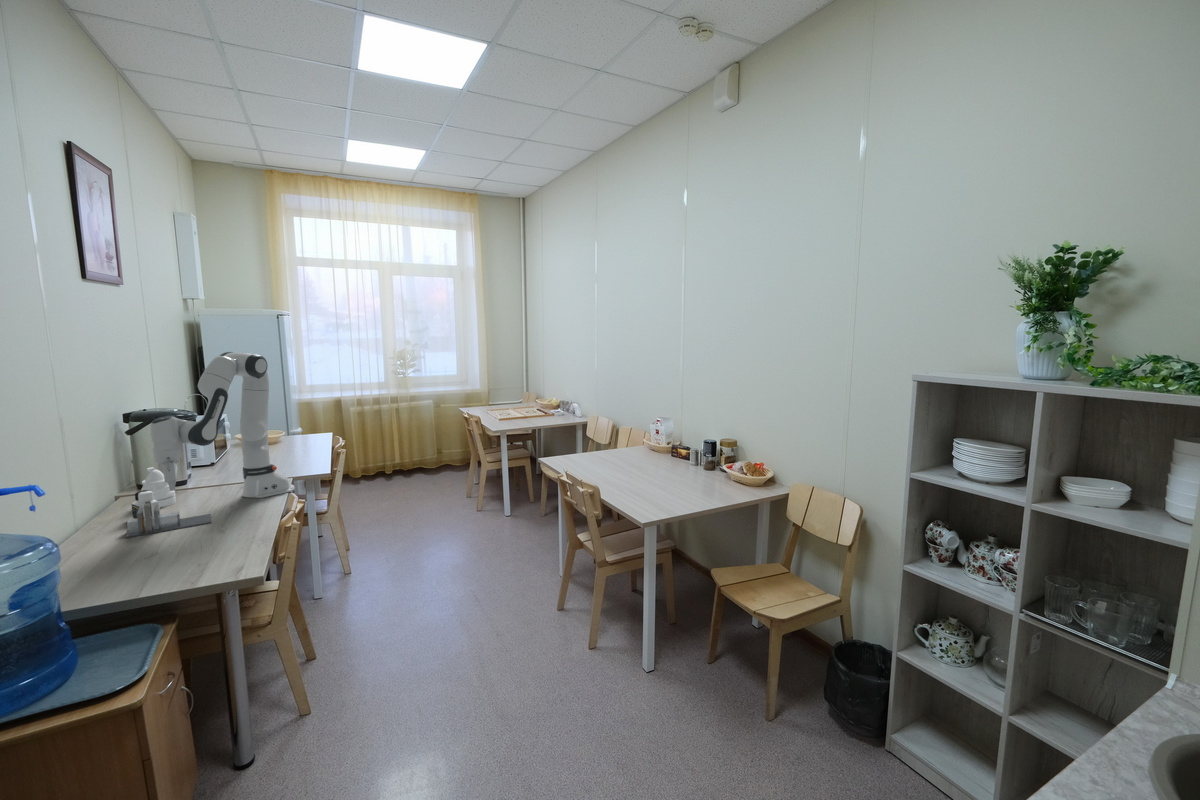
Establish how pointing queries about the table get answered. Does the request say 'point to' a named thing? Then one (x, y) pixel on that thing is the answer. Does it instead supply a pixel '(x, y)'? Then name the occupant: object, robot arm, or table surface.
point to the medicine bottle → (143, 501)
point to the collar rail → (148, 513)
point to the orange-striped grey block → (164, 521)
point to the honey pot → (159, 488)
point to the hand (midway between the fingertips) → (173, 487)
